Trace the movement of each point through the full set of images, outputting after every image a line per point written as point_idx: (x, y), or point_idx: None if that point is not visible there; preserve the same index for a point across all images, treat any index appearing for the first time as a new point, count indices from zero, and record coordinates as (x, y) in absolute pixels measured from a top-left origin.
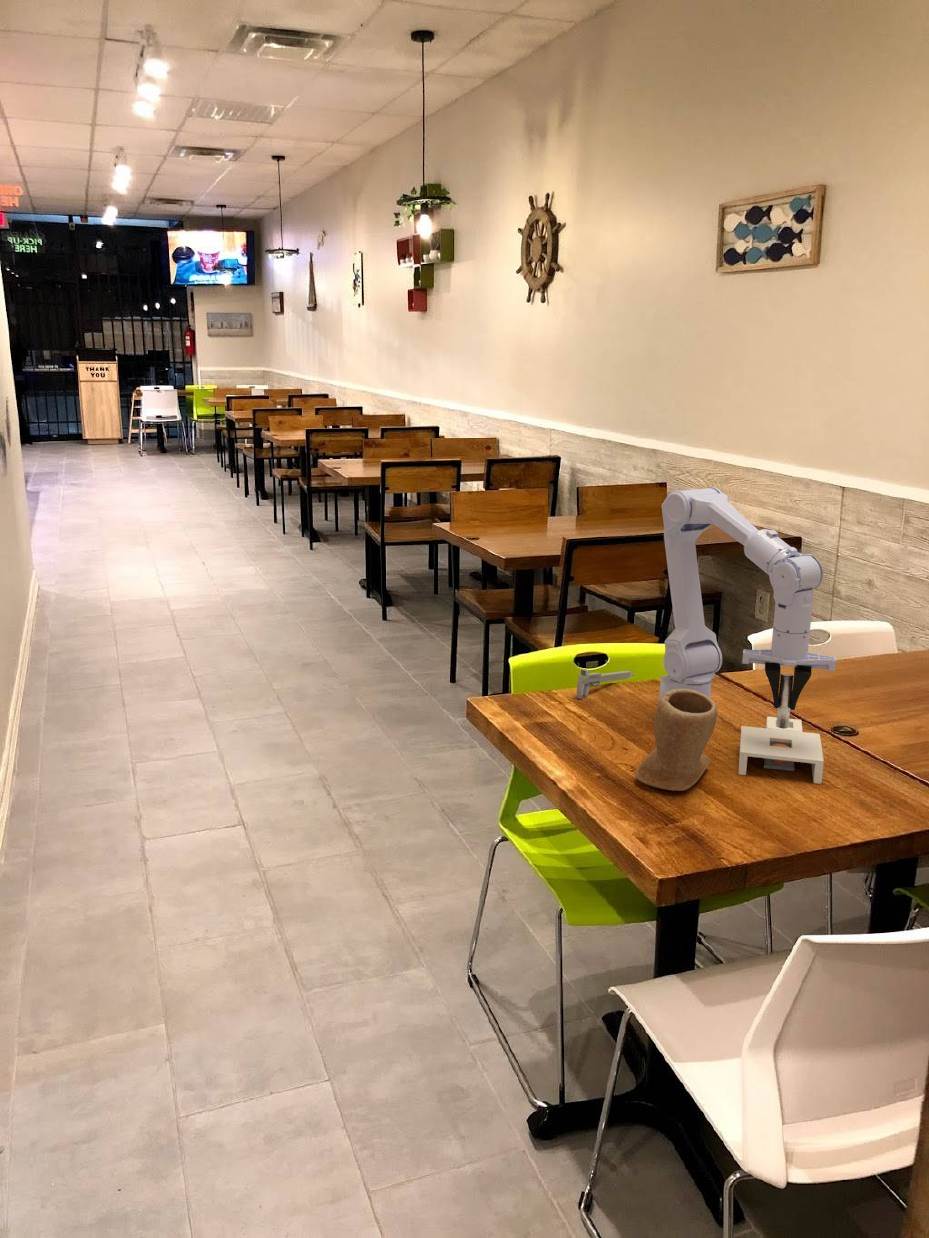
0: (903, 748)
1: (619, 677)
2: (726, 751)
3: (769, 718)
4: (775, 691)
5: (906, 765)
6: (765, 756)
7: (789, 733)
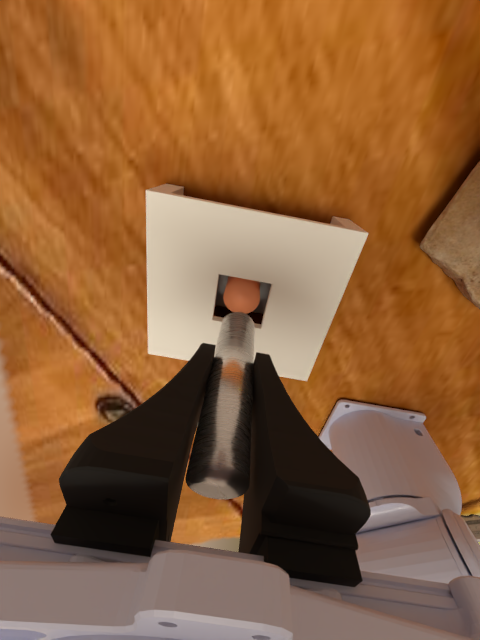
0: (22, 360)
1: None
2: (333, 331)
3: None
4: (277, 397)
5: (6, 296)
6: (300, 219)
7: None
